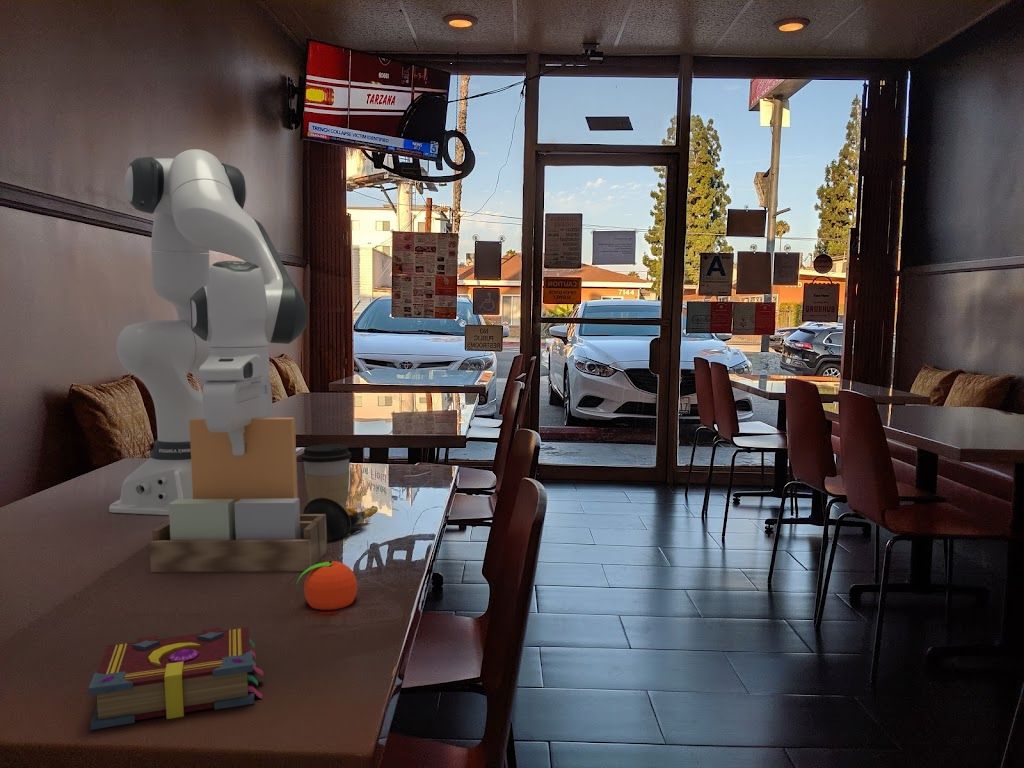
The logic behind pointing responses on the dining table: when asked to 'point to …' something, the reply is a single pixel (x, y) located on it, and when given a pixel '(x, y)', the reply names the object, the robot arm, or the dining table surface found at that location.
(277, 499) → the offcut slate
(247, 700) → the decorative book
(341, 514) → the fried shrimp in bowl
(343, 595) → the clementine
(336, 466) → the coffee cup
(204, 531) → the offcut sage
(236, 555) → the rack
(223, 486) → the tall sheet
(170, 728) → the dining table surface
